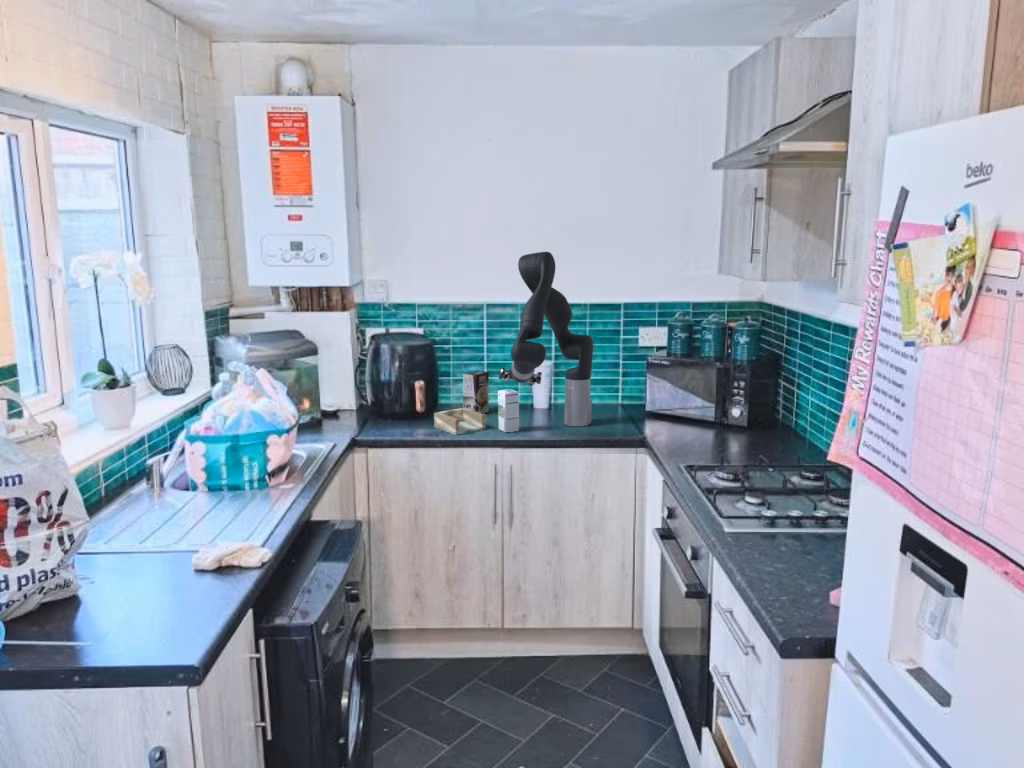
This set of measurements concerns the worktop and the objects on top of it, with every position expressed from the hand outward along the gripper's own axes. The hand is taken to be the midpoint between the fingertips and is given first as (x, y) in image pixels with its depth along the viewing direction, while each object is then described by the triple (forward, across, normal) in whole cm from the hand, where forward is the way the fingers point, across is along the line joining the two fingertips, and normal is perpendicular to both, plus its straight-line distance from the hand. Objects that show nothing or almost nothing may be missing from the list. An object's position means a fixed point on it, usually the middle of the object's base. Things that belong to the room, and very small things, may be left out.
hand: (518, 381), depth 264 cm
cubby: (+17, +18, +15) cm, 29 cm away
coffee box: (+38, +13, +4) cm, 40 cm away
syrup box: (+13, +1, +15) cm, 20 cm away
